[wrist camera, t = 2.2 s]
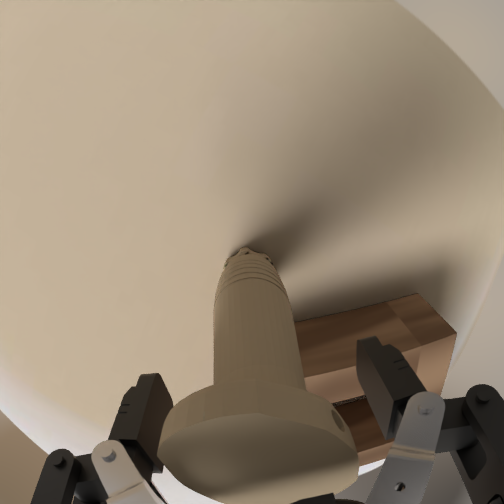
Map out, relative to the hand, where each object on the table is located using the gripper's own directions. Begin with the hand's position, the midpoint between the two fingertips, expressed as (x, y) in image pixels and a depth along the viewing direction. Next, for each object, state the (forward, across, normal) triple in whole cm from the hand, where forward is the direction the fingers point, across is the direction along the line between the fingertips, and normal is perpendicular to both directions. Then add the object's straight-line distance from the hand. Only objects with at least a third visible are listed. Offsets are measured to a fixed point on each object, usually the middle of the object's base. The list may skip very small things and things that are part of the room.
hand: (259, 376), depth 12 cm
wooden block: (+10, -6, +12) cm, 17 cm away
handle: (+10, 0, 0) cm, 10 cm away
